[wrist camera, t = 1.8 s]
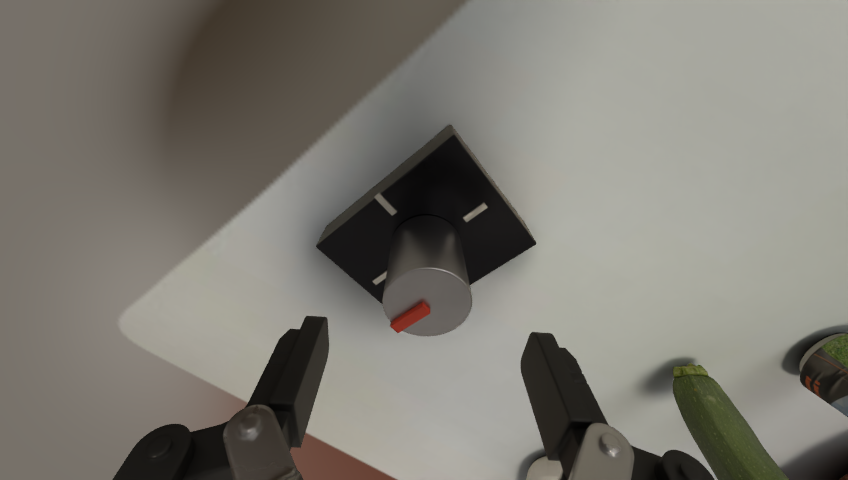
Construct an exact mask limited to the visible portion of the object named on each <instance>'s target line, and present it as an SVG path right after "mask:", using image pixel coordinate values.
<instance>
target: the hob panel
mask: <svg viewBox="0 0 848 480" xmlns="http://www.w3.org/2000/svg"><path fill="white" fill-rule="evenodd" d="M422 215H431V216H436V217H439V218H442V219H444V220H446V221H448V222H449V223H450V224H451V225H452V226H453V227H454V228H455V229H456V230H457V232H458V234H459V236H460V240H461V245H462V250H463V255H464V260H465V265H466V270H467V275H468V280H469V285H471V284H472V283H474V282H476V281H477V280H479V279H480V278H482V277H484V276H485V275H487V274H489V273H490V272H492V271H493V270H495V269H497V268H498V267H500V266H502V265H503V264H505V263H506V262H508V261H510V260H511V259H513V258H515V257H516V256H518V255H519V254H521V253H523V252H524V251H526V250H528V249H529V248H531V247H532V246H534V245H536V241H535V240H534V238H533V236H532V235H531V233H530V231H529V229H528V228H527V226H526V224H525V223H524V221H523V220H522V219H521V217H520V216H519V215H518V213H517V212H516V211H515V209H514V208H513V207H512V205H511V204H510V203H509V201H508V200H507V199H506V197H505V196H504V195H503V193H502V192H501V191H500V189H499V188H498V187H497V185H496V184H495V183H494V181H493V180H492V179H491V177H490V176H489V175H488V173H487V172H486V171H485V169H484V168H483V167H482V165H481V164H480V163H479V161H478V160H477V158H476V157H475V156H474V154H473V153H472V152H471V150H470V149H469V148H468V146H467V145H466V144H465V142H464V141H463V140H462V138H461V137H460V136H459V134H458V133H457V132H456V130H455V129H454V128H453V126H452V125H449V126H447V127H446V128H445V129H444V130H443V131H441V132H440V133H439V134H438V135H437V136H435V137H434V138H433V139H432V140H430V141H429V142H428V143H427V144H426V145H424V146H423V147H422V148H421V149H420V150H418V151H417V152H416V153H415V154H413V155H412V156H411V157H410V158H409V159H407V160H406V161H405V162H404V163H403V164H401V165H400V166H399V167H398V168H396V169H395V170H394V171H393V172H392V173H390V174H389V175H388V176H387V177H386V178H384V179H383V180H382V181H381V182H379V183H378V184H377V185H376V186H375V187H373V188H372V189H371V190H370V191H369V192H367V193H366V194H365V195H364V196H362V197H361V198H360V199H359V200H358V201H356V202H355V203H354V204H353V205H352V206H350V207H349V208H348V209H347V210H346V211H344V212H343V213H342V214H341V215H339V216H338V217H337V218H336V219H335V220H333V221H332V222H331V223H330V224H329V225H327V226H326V228H325V230H324V232H323V234H322V236H321V237H320V239H319V241H318V243H317V245H316V247H317V248H318V249H319V250H320V251H321V252H322V253H324V254H325V255H326V256H327V257H328V258H329V259H331V260H332V261H333V262H334V263H335V264H336V265H338V266H339V267H340V268H341V269H342V270H343V271H344V272H346V273H347V274H348V275H349V276H350V277H351V278H353V279H354V280H355V281H356V282H357V283H358V284H360V285H361V286H362V287H363V288H364V289H365V290H367V291H368V292H369V293H370V294H371V295H372V296H374V297H375V298H376V299H377V300H378V301H379V302H380V303H382V304H383V301H382V300H383V293H384V287H385V280H386V274H387V267H388V261H389V254H390V248H391V241H392V237H393V235H394V233H395V231H396V230H397V228H398V227H399V226H400V225H401V224H402V223H404V222H405V221H407V220H409V219H411V218H413V217H417V216H422Z"/></svg>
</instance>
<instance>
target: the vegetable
mask: <svg viewBox="0 0 848 480" xmlns="http://www.w3.org/2000/svg"><path fill="white" fill-rule="evenodd" d="M673 376H674V380H673V394H674V397H675V400H676V403H677V405H678V407H679V410H680V412H681V415H682V417H683V419H684V421H685V423H686V425H687V427H688V429H689V431H690V433H691V435H692V436H693V438H694V440H695V442H696V443H697V445H698V447H699V449H700V450H701V452H702V454H703V455H704V457H705V459H706V460H707V462H708V464H709V465H710V467H711V469H712V470H713V472H714V474H715V475H716V477H717V479H718V480H789V479H788V478H787V477H786V475H785V474H784V473H783V472H782V471H781V469H780V468H779V467H778V466H777V464H776V463H775V462H774V461H773V459H772V458H771V457H770V456H769V454H768V453H767V452H766V450H765V449H764V448H763V446H762V445H761V443H760V441H759V440H758V438H757V437H756V435H755V434H754V432H753V430H752V429H751V428H750V426H749V425H748V423H747V422H746V420H745V419H744V418H743V416H742V415H741V414H740V412H739V411H738V410H737V408H736V407H735V406H734V404H733V403H732V402H731V400H730V399H729V397H728V396H727V395H726V394H725V392H724V391H723V390H722V388H721V387H720V385H719V384H718V383H717V382H716V381H715V380H714V379H712V378H711V377H709V376H708V373H707V372H706V370H705V369H704V368H703V367H702V366H700V365H698V366H694V365H693V364H692V363H689V364H688V365H687V366H681V367H673Z"/></svg>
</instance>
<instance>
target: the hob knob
mask: <svg viewBox="0 0 848 480" xmlns="http://www.w3.org/2000/svg"><path fill="white" fill-rule="evenodd" d="M382 301H383V309H384V312H385V314H386V316H387V317H388V319H389V320H390V321H391V324H390V327H391V328H393V329H394V330H395V331H396V332H397V333H399V332H401V331H405V332H407V333H410V334H413V335H418V336H435V335H441V334H444V333H447V332H449V331H451V330H453V329H455V328H457V327H458V326H459V325H461V324H462V323H463V322H464V321H465V319H466V318H467V316H468V315H469V313H470V310H471V307H472V295H471V290H470V285H469V280H468V275H467V270H466V265H465V260H464V255H463V250H462V245H461V240H460V236H459V234H458V232H457V230H456V229H455V228H454V227H453V226H452V225H451V224H450V223H449V222H448V221H446V220H444V219H442V218H439V217H436V216H431V215H422V216H417V217H413V218H411V219H409V220H407V221H405V222H404V223H402V224H401V225H400V226H399V227H398V228H397V230H396V231H395V233H394V235H393V237H392V241H391V248H390V254H389V261H388V267H387V274H386V280H385V287H384V293H383V300H382Z"/></svg>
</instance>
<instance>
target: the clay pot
mask: <svg viewBox="0 0 848 480" xmlns="http://www.w3.org/2000/svg"><path fill="white" fill-rule="evenodd" d="M839 480H848V474H846V475H845V476H843V477H842V478H840V479H839Z"/></svg>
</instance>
